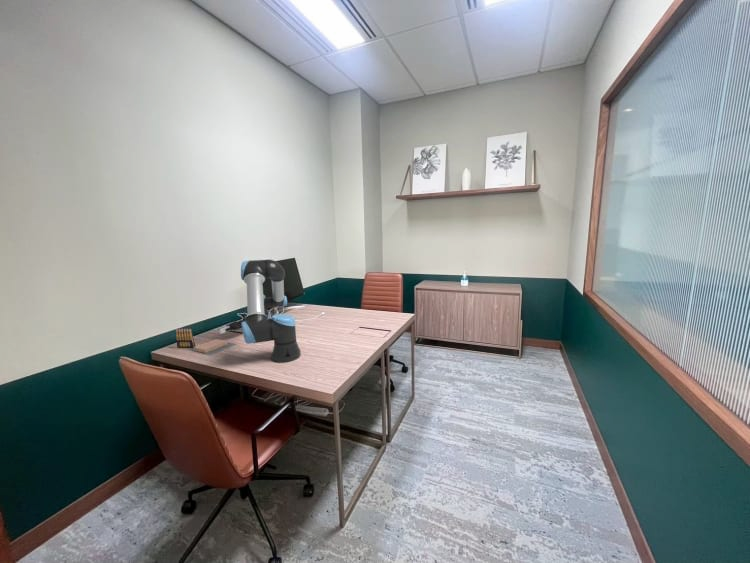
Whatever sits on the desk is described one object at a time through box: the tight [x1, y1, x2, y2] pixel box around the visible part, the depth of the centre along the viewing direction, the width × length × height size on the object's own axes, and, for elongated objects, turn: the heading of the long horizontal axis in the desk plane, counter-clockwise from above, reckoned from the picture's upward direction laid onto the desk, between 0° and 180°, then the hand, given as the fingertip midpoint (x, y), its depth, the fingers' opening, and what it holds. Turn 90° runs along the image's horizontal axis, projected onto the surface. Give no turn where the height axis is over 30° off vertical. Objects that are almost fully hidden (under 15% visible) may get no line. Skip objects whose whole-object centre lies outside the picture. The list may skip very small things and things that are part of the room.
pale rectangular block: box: [194, 338, 228, 353], centre depth 175 cm, size 10×2×14 cm
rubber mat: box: [188, 341, 238, 356], centre depth 177 cm, size 20×18×1 cm
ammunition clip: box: [175, 328, 196, 349], centre depth 176 cm, size 11×2×12 cm, turn 82°
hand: (219, 331), depth 181 cm, fingers closed
